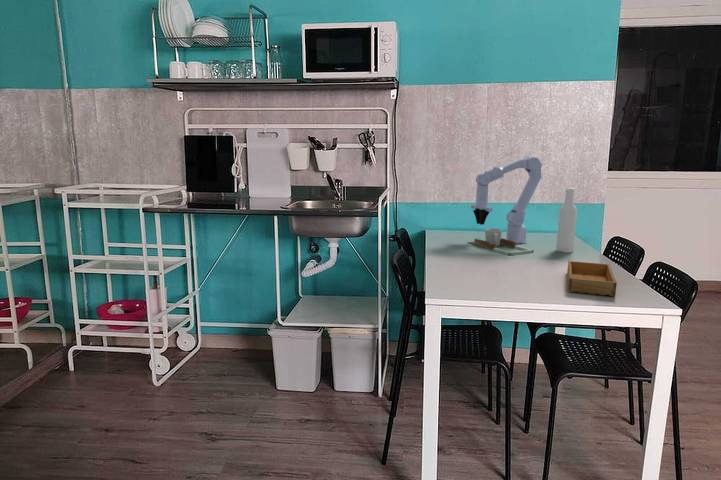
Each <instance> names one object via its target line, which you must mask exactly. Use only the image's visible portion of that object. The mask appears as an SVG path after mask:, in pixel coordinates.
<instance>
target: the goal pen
mask: <svg viewBox="0 0 721 480" xmlns="http://www.w3.org/2000/svg"><path fill="white" fill-rule="evenodd" d="M514 249H516V251H508V250H504V249H500V248H497V247H496V248H494V250H493V251H494V252H497V253H500V254H504V255H507V256H515V255H517V256H518V255H523V254H524V255H525V254H533V253H534V249H531V248H528V247H523V246H520V245H516V246H515V248H514Z"/></svg>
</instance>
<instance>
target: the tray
mask: <svg viewBox="0 0 721 480" xmlns="http://www.w3.org/2000/svg"><path fill="white" fill-rule="evenodd" d="M567 272H568V274H567V289H568V291H570V292H569V293H575V292H578V293H577V294H585V293H589V294H588V295H596V294H598V295H597V296H605V295H609V296H608V297H616V294H617V293H616V292H617V285H618V284H617V280H616V277H615V275H614V273H613V270H612V267H611V265H610V264H608V263H599V262H597V263H596V262H587V261H574V260H568V263H567ZM568 291H567V292H568Z"/></svg>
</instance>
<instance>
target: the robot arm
mask: <svg viewBox="0 0 721 480" xmlns="http://www.w3.org/2000/svg"><path fill="white" fill-rule="evenodd" d="M542 166H543V165H542V162H541V160H540V159H539V158H538V157H535V156H534V157H533V156H526V157H522V158H520V159H517V160H516V161H513V162H511V163H509V164H507V165H505V166H502V167H500V166H494V167H492V169H489V170H485V171H484V172H483V173H478V174H477V176H476V178H475V182H476V195H475V197H476V199H475V204H473V203H471V204H470V209H473V210H472V212H473V215H474V218H475V221H476V224H477V225H485V222H486V220H487V218H488V216H489V214H490V212H491V213H492V212H493V207H491V206H488V202H489V201H488V200H489V185H490V183H493V182H495V181H497V180H499V179H501V178H503V177H504V175H505V174H507V173H509V172H513V171H515V170H517V169H524V170H525V171H526V172H527V174H528V177H529V178H528V180H527V182H526V184H525V185H524V187H523V189H522V192H521V194H520V196H519V198H518V200H517V202H516V203H515V205H514V206H513V207H511V210H510V211H508V213H507V215H506V221H507V225H506V226H507V227H506V238H505V239H506V240H510V241H514V242H516V245H517V244H525V243H528V242H527V227H526V226H525V225H524V224H523V223H524V222H525V216H526V209H527V207H528V205H529V203H530V201H531V199H532V197H533V195H534V193H535V191H536V189H537V187H538V185H539V183H540V181H541V180H542Z"/></svg>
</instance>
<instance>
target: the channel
mask: <svg viewBox="0 0 721 480" xmlns="http://www.w3.org/2000/svg"><path fill="white" fill-rule="evenodd" d="M473 242H474V245H473V246H477V247H480V248H484V249H487V250H491V251H494V248H497V246H496V244H494V243H491V242H487V241H486V240H483V239H480V238H474V240H473ZM498 246H503V247H507V248H512V249H515V246H517V244H516V242H514V241H510V240H506V238H502V237H501V239H500V244H499V245H498Z"/></svg>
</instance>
